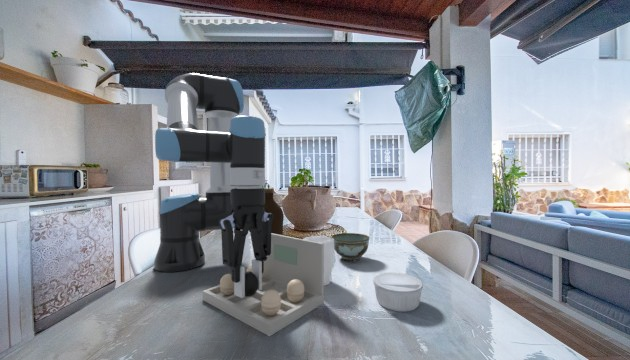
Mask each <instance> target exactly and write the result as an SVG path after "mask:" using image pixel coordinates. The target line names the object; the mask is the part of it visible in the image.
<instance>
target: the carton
mask: <svg viewBox="0 0 630 360" xmlns="http://www.w3.org/2000/svg"><path fill="white" fill-rule="evenodd" d="M265 250H266V249H265ZM266 257H267V260H266V261H264V272H263V273H262V290H260V291H259V290H257V292H256V293H255V294H254V295H253V296H248V297H247V296H245V297H243V298H241V297H238V296H236V295H234V282H233V281H232V279H231V277H232V276H231V275H232V274H231V273H225V274H223V275H222V277H221V278H220V279H219V284H218V285H215V286H213V287H209V288H207V289H204V290H202V301H204V302H205V303H207V304H209V305H211V306H213V307H214V308H216V309H219V310H220V311H222V312H223V313H226V314H227V315H229V316H231V317H233V318H235V319H236V320H238V321H241V322H242V323H244V324H245V325H248V326H249V327H252V328H253V329H255V330H257V331H259V332H260V333H262V334H264V335H265V336H266V335H267V336H269V337H271V336H273V335H275V334H277V332H279V331H281V330H282V329H285V328H286V327H288V326H289V325H291V324H292V323H294V322H296V321H297V320H298V319H300V318H302V317H304V316H306V315H307V314H308V313H310V312H312V311H313V310H315V309H316V308H317V309H318V308H319V307H320V306H321V304H322V305H323V304H324V303H325V302H324V301H325V300H324V298H325V297H324V296H325V291H324V290H325V286H324V243H319V242H314V241H309V240H304V239H303V238H297V237H293V236H288V235H284V234H283V235H278V234H273V233H271V254H270V255H269V256H268V255H267V256H266ZM248 271H250V272H252V265H251V266H249V267H247V268H246V270H245V273H246V272H248Z"/></svg>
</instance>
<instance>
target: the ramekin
mask: <svg viewBox="0 0 630 360" xmlns="http://www.w3.org/2000/svg"><path fill="white" fill-rule="evenodd" d="M372 281H373V285H374V291H375V298H376V300H377V302H378V303H379V305H380V306H382V307H383V308H384V309H387V310H390V311H394V312H399V313H401V312H402V313H403V312H404V313H405V312H411V311H414V310H416V309H417V308H418V307H419V306H420V302H421V296H422V291H423V290H424V289H423V288H424V285H423V282H422V281H421V279H419V278H418V277H415V276H413V275H410V274H407V273H401V272H391V271H390V272H382V273H379V274H376V275H375V276H374V277H373V280H372Z"/></svg>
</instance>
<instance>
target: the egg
mask: <svg viewBox="0 0 630 360" xmlns="http://www.w3.org/2000/svg"><path fill="white" fill-rule="evenodd" d="M257 289H258V280H257V277H256V276H255V274H254V273H252V272H250V271H248V272H246V271H245V296H247V297H248V296H253V295H254V294H255V293H256V292H257Z"/></svg>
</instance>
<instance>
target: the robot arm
mask: <svg viewBox="0 0 630 360" xmlns="http://www.w3.org/2000/svg"><path fill="white" fill-rule="evenodd" d="M244 97H245V96H244V91H243V88H242V85H241V83H240V82H239V81H238V80H236V79H233V78H228V77H221V76H216V75H215V76H213V75H207V74H200V73H197V72H196V73H195V72H192V73H191V72H189V73H184V74H181V75H178V76H176V77H174V78H173V79H172V80H170V81H169V82H168V84H167V85H166V86H165V89H164V99H165V102H166V104H167V113H166V127H160V128H156V130H155V134H154V144H155V145H154V150H155V151H154V152H155V157H156V158H157V160H159V161H163V162H173V163H181V162H182V163H186V162H187V163H188V162H189V163H196V162H197V163H209V174H210V175H209V177H210V178H209V180H210V181H209V183H210V184H209V188H208V189H207V190H206V191H205V196H202V197H200V194H199V192H195V193H194V192H193V193H185V194H177V195H173V196H168V197H164V198H163V199H162V200H161V201H160V209H159V217H160V221H159V222H160V224H159V225H160V227H159V230H160V231H159V233H160V234H159V235H160V236H159V237H160V239H159V242H160V243H159V246H158V249H157V253H156V255H155V257H154V260H153V261H154V262H153V268H154V270H156V271H157V272H164V273H166V272H167V273H170V272H171V273H174V272H175V273H176V272H183V271H188V270H192V269H195V268H198V267H200V266H202V265H204V263H205V262H206V258H205V257H206V256H205V255H206V254H205V252H204V249H203V247H202V243H201V241H200V232H208V231H220V232H221V233H220V234H221V252H222V255H221V256H222V260H221V261H222V265H224V266H227V267H230V269H231V271H230V272H231V273H230V274H232V275H231V276H232V277H231V279H232V281H233V282H234V295H236V296H238V297H241V298H243V297H245V273H246V270H245V269H246V268H245V266H244V265H242V263H243V258H244V251H245V245H246V239H247V235H248V234H250V238H251V239H250V240H251V246H252V251H253V257H254V258H253V259H251V266H252V273H254V274H255V276H256V277H257V280H258V289H257V290H259V291H260V290H262V273H263V272H264V261H266V260H267V257H266V256H267V255H268V256H269V255H270V254H271V227H272V220H273V217H274V215H273V214H271V213H266V212H265V210H264V208H263V205H264V204H265V190H264V189H265V188H263V187H264V186H265V184H266V168H265V167H266V136H267V134H266V129H265V127H266V126H265V122H264V120H263V119H262V118H260V117H257V116H254V115H253V116H251V115H240V114H242V113H243V111H244V109H245V108H244V105H245V104H244V103H245V98H244ZM198 109H199V110H204V116H205V117H206V118H207V119H208V120H209V130H200V129H199V121H198V113H197V110H198ZM261 220H262V221H261ZM265 249H266V250H265ZM255 258H256V259H255Z"/></svg>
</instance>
